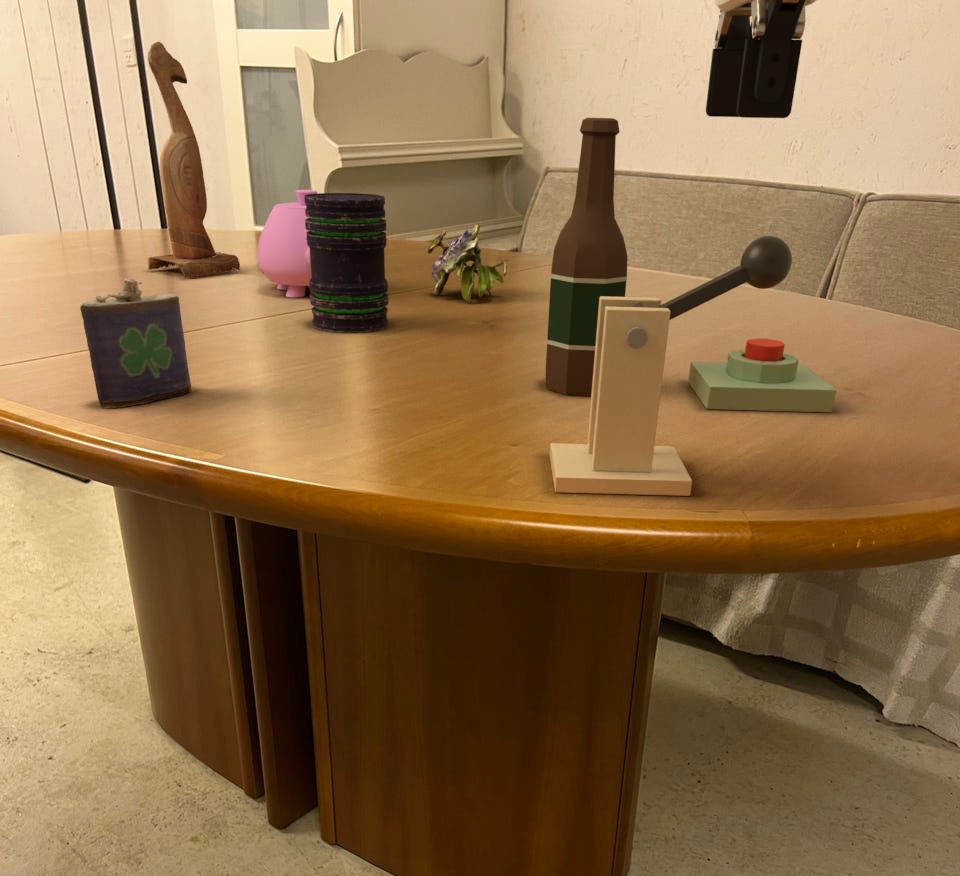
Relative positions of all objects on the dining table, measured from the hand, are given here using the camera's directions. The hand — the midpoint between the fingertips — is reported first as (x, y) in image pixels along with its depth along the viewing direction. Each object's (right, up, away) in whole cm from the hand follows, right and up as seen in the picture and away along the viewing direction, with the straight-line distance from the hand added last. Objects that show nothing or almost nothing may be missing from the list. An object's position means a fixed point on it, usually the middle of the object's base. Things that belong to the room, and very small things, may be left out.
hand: (744, 117), depth 60 cm
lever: (-1, -11, +5) cm, 13 cm away
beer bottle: (-7, -9, +34) cm, 36 cm away
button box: (+11, -10, +32) cm, 35 cm away
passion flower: (-19, +17, +79) cm, 83 cm away
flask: (-49, -12, +27) cm, 57 cm away
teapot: (-42, +18, +79) cm, 91 cm away
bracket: (-7, -22, +11) cm, 25 cm away
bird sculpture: (-65, +27, +93) cm, 116 cm away
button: (+11, -7, +31) cm, 33 cm away
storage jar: (-34, +6, +58) cm, 68 cm away
